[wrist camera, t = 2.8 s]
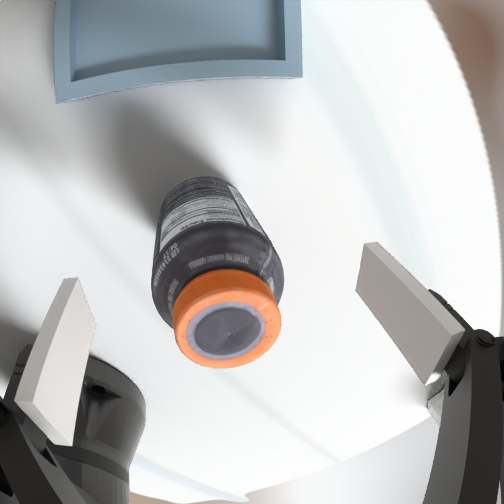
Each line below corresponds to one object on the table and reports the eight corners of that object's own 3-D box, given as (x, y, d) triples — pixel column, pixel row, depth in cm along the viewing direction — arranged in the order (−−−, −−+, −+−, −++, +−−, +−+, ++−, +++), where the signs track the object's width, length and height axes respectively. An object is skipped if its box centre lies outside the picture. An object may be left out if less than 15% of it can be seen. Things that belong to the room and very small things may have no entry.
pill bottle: (227, 266, 23) (265, 392, 13) (148, 243, 21) (132, 373, 11) (261, 192, 21) (336, 289, 11) (176, 161, 18) (172, 243, 9)
